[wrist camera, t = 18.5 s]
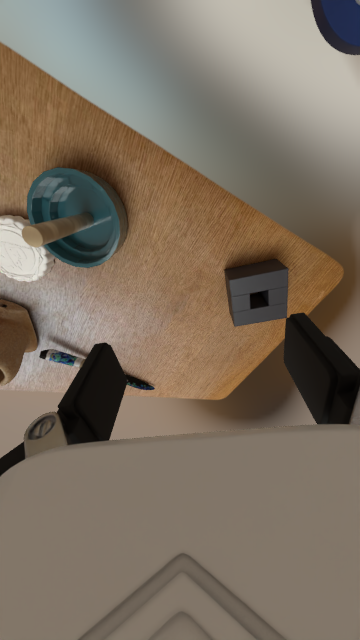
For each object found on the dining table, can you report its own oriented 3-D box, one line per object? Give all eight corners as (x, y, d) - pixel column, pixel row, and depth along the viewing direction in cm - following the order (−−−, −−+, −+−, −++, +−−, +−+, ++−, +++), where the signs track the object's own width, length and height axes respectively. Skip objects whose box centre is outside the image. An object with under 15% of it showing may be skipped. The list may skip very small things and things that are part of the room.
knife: (45, 346, 54) (36, 359, 50) (49, 338, 52) (40, 351, 49) (150, 385, 65) (149, 398, 61) (155, 380, 64) (154, 393, 60)
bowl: (32, 183, 36) (6, 183, 31) (110, 159, 34) (96, 154, 29) (72, 265, 44) (57, 274, 39) (139, 249, 42) (132, 257, 36)
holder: (224, 269, 43) (229, 280, 38) (276, 258, 42) (288, 268, 37) (229, 312, 48) (234, 326, 43) (276, 303, 47) (286, 317, 42)
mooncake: (-2, 269, 45) (-15, 275, 42) (-15, 206, 38) (-32, 208, 35) (57, 282, 46) (48, 289, 43) (54, 224, 40) (42, 227, 37)
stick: (78, 214, 38) (16, 228, 24) (90, 211, 38) (35, 223, 24) (84, 228, 39) (29, 249, 26) (96, 225, 39) (46, 245, 25)
